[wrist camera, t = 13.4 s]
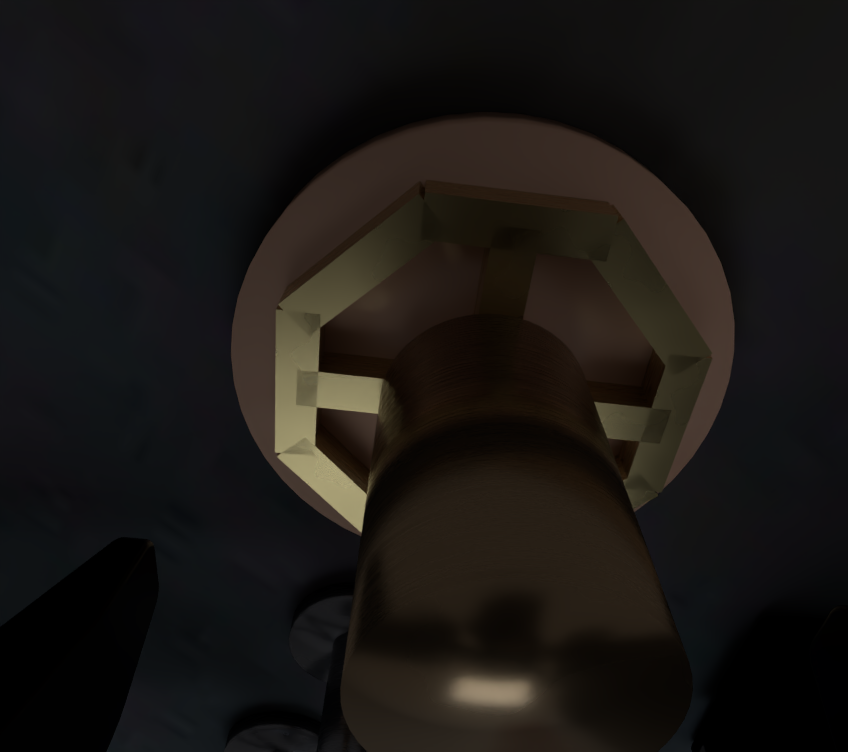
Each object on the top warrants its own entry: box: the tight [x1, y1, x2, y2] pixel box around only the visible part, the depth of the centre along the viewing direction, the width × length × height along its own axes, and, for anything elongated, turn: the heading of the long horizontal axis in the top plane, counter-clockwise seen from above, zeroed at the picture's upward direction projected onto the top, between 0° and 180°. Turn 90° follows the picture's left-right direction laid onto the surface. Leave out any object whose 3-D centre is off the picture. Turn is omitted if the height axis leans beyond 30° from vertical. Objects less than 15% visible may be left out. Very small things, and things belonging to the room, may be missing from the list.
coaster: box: [231, 112, 735, 536], centre depth 14 cm, size 10×10×1 cm
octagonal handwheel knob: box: [275, 180, 713, 752], centre depth 11 cm, size 8×8×7 cm
